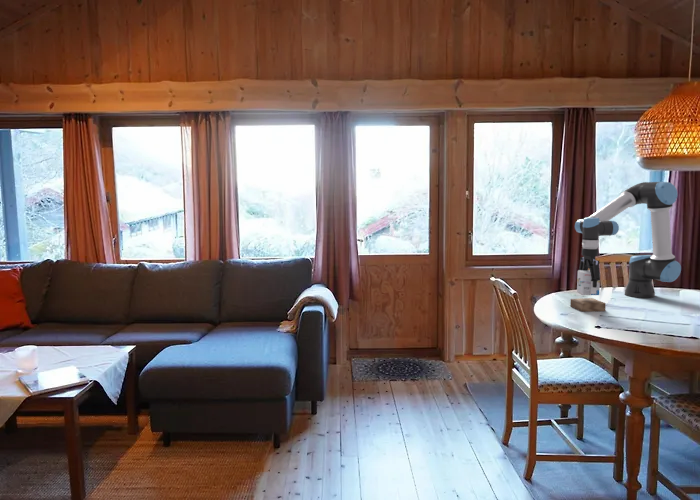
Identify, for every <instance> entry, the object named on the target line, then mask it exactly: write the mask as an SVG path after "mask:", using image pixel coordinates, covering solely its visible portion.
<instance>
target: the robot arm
mask: <svg viewBox="0 0 700 500" xmlns="http://www.w3.org/2000/svg"><path fill="white" fill-rule="evenodd" d="M677 199H678V190H677V187H676V186H675V185H674V184H673V183H672V182H669V181H668V182H667V181H643V182H639V183H637V184H634V185H632V186H630V187H628V188H627V189H625V190H624V191H622V192H621V193H620V194H619V196H618V197H616V198H615V199H613V200H612V201H610V202H609V203H608V204H606V205H604V206H603V207H601V208H600V209H598V210H597V211H596V212H594V213H593V214H591V215H590V216H588V217H584V218H581V219H577V221H575V223H574V230H575V231H576V233H578V234H582V242H581V245H582V246H581V247H582V248H581V256H583V257H580V258H579V268H578V270H590V273H591V278H592V280H591V290H590V294H596V290H597V281H598V280H600V281H601V272H600V260H596V257H598V255H599V249H598V248H599V244H600V243H599V242H600V241H599V240H600V236H601V237H602V236H603V237H605V236H609V237H610V236H615V235H617V234H618V233H619V231H620V230H619V229H620V228H619V226H620V225H619V223H618V222H616V221H615V220H612V219H613V218H615V217H616V216H618V215H619V214H621V213H623V212H624V211H625V210H627V209H628V208H633V207H635V206H637V205H641V204H644V205H645V204H646V208H647V210H649V211H650V222H651V223H650V224H651V241H652V255H650V254H646V255H644V254H643V255H642V254H641V255H632V256H630V257H629V258H630V259H629V262H628V263H629V264H628V265H629V267H628V269H629V270H628V283H627V285H626V287H625V290H624V295H625V296H628V297H632V298H640V299H642V298H643V299H645V298H646V299H652V298H655V297H656V292H655V287H654V285H653V280H655V281H658V282H659V281H660V282H662V283H664V282H665V283H666V282H667V283H672V282H674V281H676V280H677V279H678V278H679V277H680V275H681V273H682V272H681V271H682V266H681V263H680V262H678V261H677V260H676V255H674V254H673V253H672V239H671V237H672V236H671V218H670V216H671V215H670V209H672V208H673V204H675V202H676V201H677Z"/></svg>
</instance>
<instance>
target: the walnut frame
mask: <svg viewBox="0 0 700 500" xmlns="http://www.w3.org/2000/svg"><path fill="white" fill-rule="evenodd" d="M569 306H570V307H571V308H573V309H575V310H577V311H579V312H582V313H583V312H584V313H585V312H590V313H591V312H606V303H605V302H603V301H601V300H598V299H596V298H593V297H589V298H588V297H586V298H583V297H581V298H570V305H569Z"/></svg>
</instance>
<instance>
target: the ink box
mask: <svg viewBox="0 0 700 500" xmlns="http://www.w3.org/2000/svg"><path fill="white" fill-rule="evenodd" d="M591 280H592V278H591V273H590V269H588V270H579V269H578V270H577V281H576V283H577V285H576V293H578V294H580V295H582V296H600V288H601V279H600V280H598V281H597V290H596V294H590V290H591Z"/></svg>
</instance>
